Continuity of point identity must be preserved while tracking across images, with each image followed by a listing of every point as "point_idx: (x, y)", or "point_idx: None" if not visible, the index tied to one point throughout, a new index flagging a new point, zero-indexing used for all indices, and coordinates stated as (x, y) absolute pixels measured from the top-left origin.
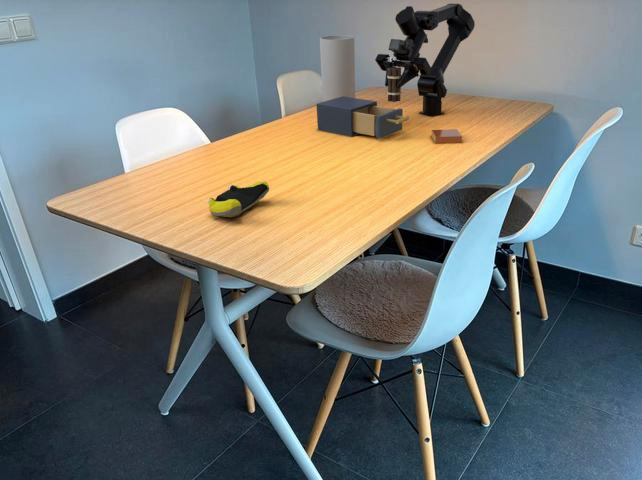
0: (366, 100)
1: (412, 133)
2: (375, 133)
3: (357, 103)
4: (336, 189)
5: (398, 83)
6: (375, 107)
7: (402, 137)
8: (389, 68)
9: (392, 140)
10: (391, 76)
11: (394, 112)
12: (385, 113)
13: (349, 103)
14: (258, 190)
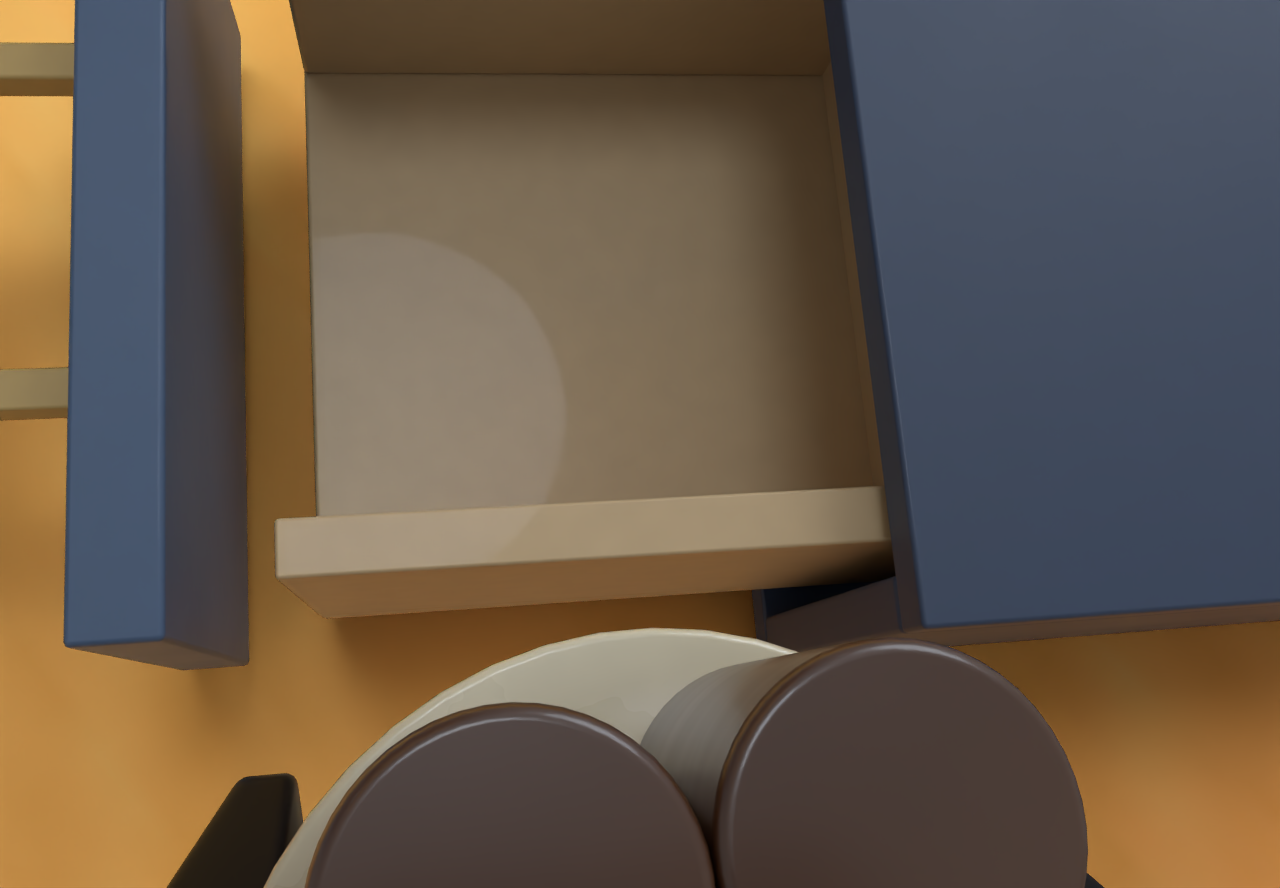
0: (1178, 549)
1: (5, 763)
2: (305, 71)
3: (1101, 199)
4: None
5: (247, 857)
6: (802, 494)
7: (16, 453)
8: (1041, 871)
9: (59, 227)
10: (613, 719)
11: (75, 306)
12: (141, 50)
13: (1222, 108)
14: None
